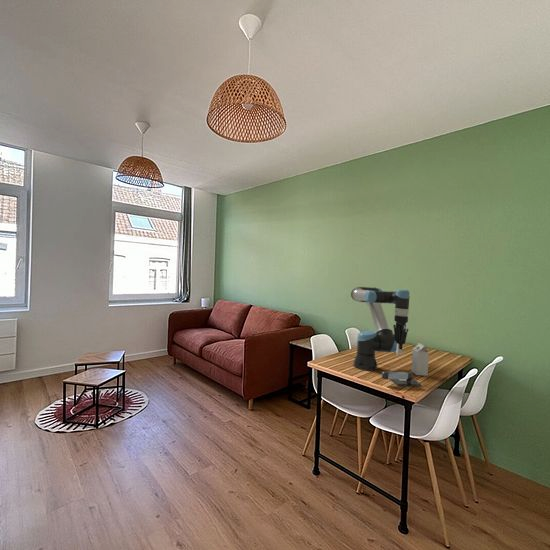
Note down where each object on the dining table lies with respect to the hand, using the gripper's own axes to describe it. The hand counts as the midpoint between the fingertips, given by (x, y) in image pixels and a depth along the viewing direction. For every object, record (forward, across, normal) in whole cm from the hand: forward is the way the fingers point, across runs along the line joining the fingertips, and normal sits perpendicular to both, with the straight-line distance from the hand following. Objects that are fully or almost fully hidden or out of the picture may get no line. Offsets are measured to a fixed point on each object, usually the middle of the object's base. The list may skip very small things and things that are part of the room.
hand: (399, 354), depth 176 cm
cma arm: (+11, +11, -7) cm, 17 cm away
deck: (+14, +4, 0) cm, 15 cm away
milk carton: (+15, -8, +19) cm, 25 cm away
